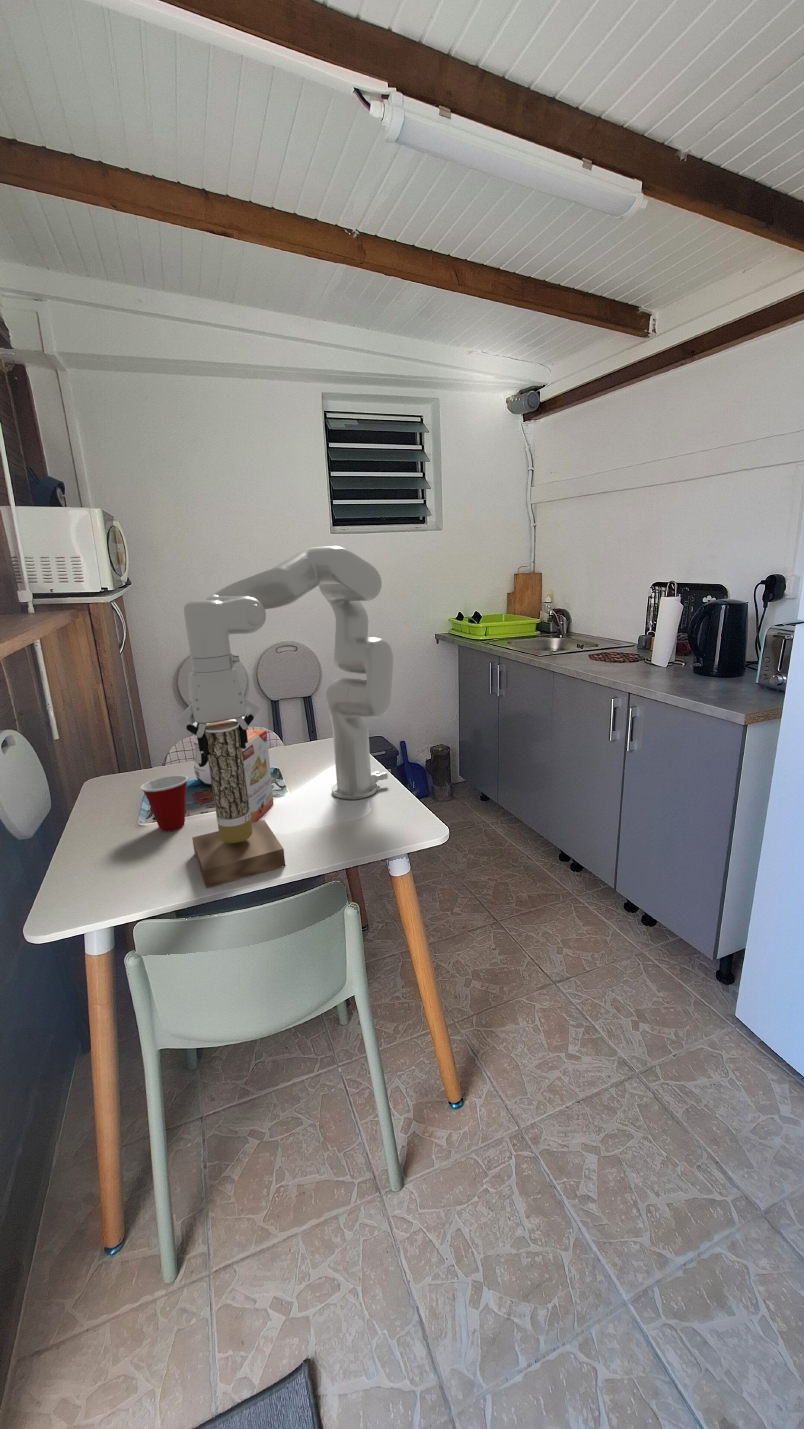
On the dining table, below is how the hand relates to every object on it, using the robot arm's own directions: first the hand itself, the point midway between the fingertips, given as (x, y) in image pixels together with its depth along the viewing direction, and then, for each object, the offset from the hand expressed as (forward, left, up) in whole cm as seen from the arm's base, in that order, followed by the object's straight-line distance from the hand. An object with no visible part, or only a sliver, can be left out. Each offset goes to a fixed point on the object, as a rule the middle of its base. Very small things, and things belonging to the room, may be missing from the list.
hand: (224, 749), depth 114 cm
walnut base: (0, 0, -25) cm, 25 cm away
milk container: (-7, -51, -25) cm, 57 cm away
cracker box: (-8, -21, -25) cm, 34 cm away
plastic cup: (+11, -26, -25) cm, 38 cm away
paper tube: (0, 0, -20) cm, 20 cm away
